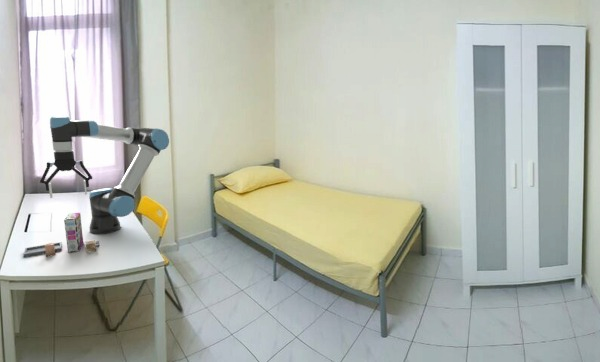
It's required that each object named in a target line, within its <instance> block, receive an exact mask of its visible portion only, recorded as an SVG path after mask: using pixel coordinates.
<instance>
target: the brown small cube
mask: <svg viewBox="0 0 600 362" xmlns="http://www.w3.org/2000/svg"><path fill="white" fill-rule="evenodd" d="M54 243H55V242H48V243H46V244H44V245H45V251H46V254H45V256H46V257H53V256H55V255H56V253H57V252H55V246H54Z"/></svg>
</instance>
